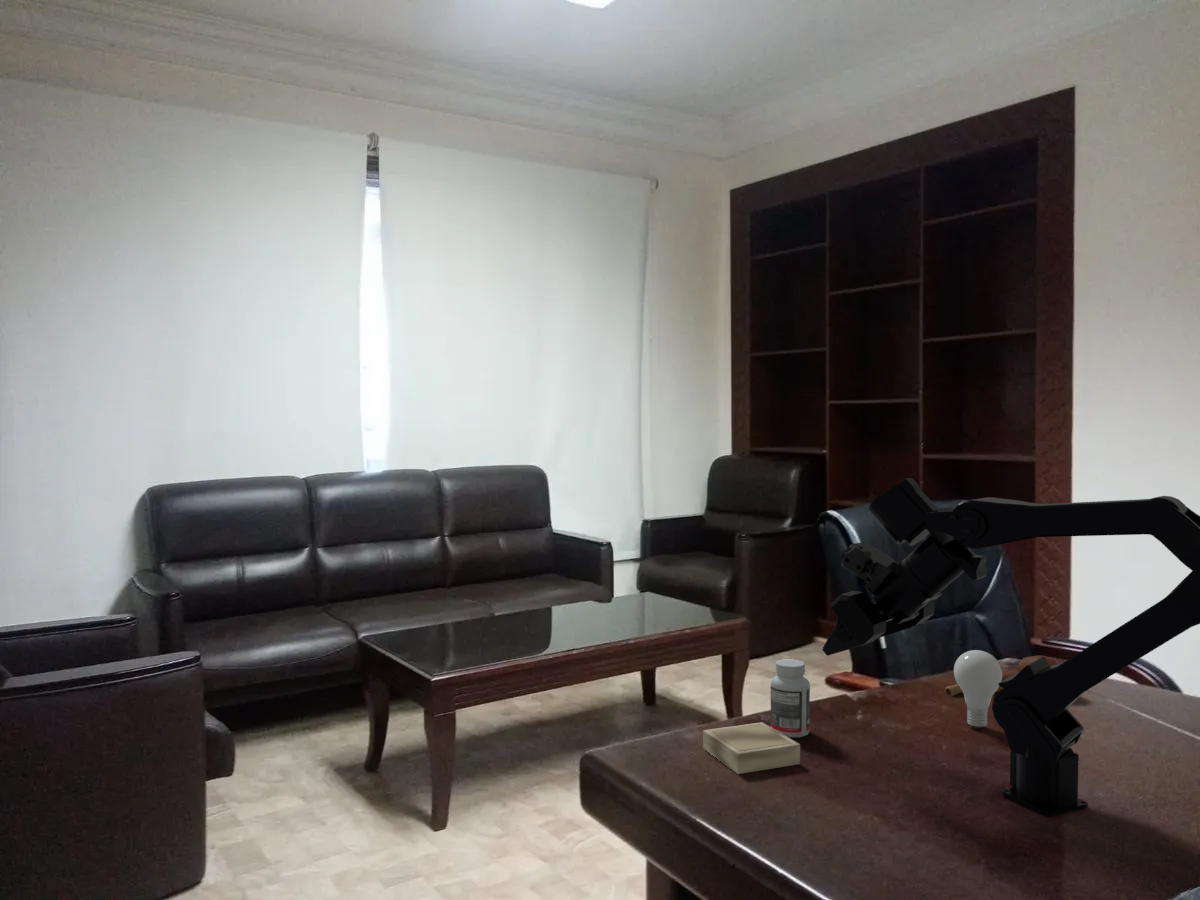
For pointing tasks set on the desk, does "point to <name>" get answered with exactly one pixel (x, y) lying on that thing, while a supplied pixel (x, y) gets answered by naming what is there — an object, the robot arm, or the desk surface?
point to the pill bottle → (790, 699)
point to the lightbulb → (977, 683)
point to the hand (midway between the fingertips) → (842, 646)
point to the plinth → (751, 747)
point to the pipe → (1023, 663)
